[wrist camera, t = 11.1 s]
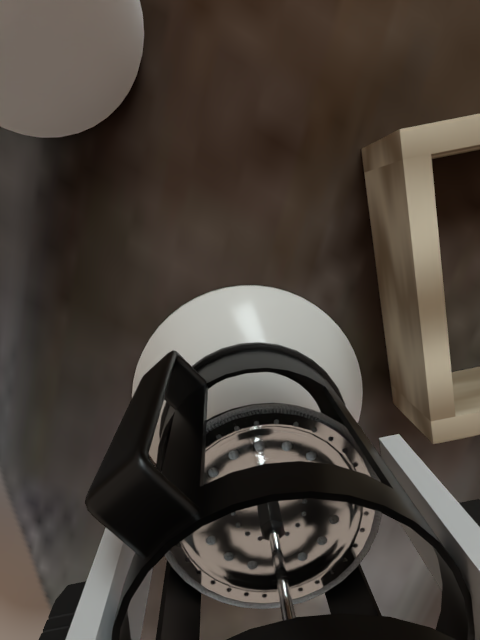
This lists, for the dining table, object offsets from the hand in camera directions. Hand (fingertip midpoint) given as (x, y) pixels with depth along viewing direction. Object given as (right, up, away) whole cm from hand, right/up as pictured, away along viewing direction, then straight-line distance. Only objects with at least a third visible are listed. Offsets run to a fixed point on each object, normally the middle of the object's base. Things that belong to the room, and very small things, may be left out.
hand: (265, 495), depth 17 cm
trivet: (0, +2, +9) cm, 10 cm away
